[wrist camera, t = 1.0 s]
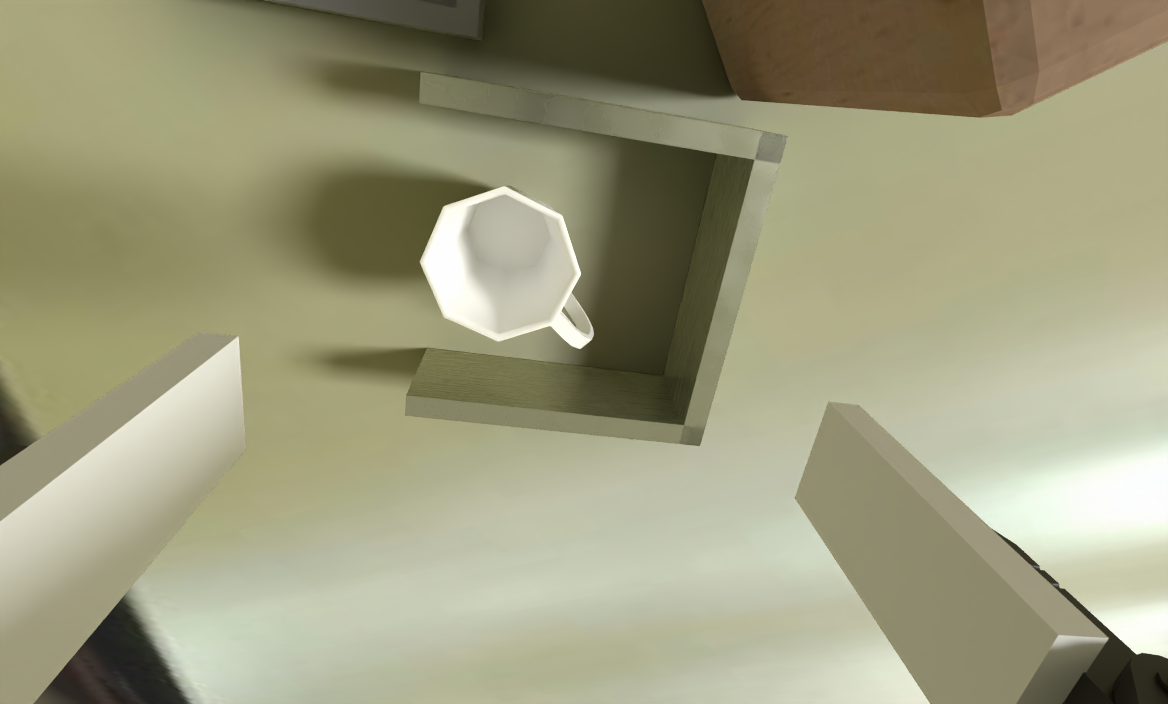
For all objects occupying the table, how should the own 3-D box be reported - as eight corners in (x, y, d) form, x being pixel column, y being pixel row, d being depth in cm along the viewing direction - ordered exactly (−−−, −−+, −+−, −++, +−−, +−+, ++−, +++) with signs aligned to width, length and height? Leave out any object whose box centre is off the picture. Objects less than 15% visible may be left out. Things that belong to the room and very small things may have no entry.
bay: (442, 74, 30) (420, 72, 24) (745, 127, 32) (787, 136, 26) (425, 365, 36) (405, 415, 31) (677, 394, 38) (699, 445, 33)
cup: (514, 134, 31) (505, 149, 24) (629, 273, 35) (653, 323, 27) (420, 220, 33) (384, 260, 25) (539, 345, 36) (539, 411, 29)
